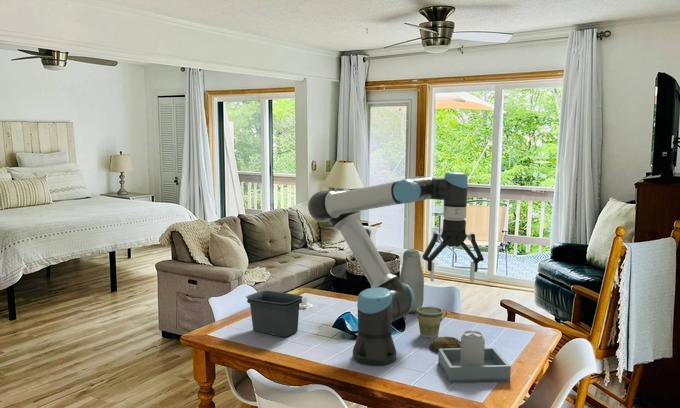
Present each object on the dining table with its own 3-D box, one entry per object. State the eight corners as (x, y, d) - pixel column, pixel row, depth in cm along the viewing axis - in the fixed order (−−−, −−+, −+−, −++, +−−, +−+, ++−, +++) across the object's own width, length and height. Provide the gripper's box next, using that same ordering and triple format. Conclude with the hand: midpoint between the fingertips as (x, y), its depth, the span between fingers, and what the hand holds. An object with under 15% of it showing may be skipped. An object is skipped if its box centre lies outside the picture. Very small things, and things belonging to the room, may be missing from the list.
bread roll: (424, 348, 201) (424, 335, 200) (448, 341, 208) (448, 328, 208) (451, 359, 191) (451, 345, 190) (474, 351, 198) (475, 338, 197)
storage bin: (243, 331, 219) (242, 296, 217) (267, 321, 232) (266, 288, 231) (286, 341, 208) (285, 304, 206) (309, 329, 221) (309, 294, 220)
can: (460, 372, 176) (461, 336, 175) (459, 363, 183) (460, 328, 182) (484, 374, 175) (485, 337, 173) (483, 365, 182) (484, 329, 181)
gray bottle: (409, 306, 252) (410, 246, 249) (427, 311, 244) (428, 249, 241) (395, 311, 245) (395, 249, 242) (413, 316, 238) (413, 252, 235)
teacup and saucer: (304, 310, 248) (304, 301, 248) (290, 308, 252) (290, 299, 252) (316, 306, 255) (316, 297, 255) (302, 303, 260) (302, 294, 259)
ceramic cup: (425, 341, 208) (425, 315, 206) (411, 333, 217) (411, 308, 216) (454, 336, 213) (454, 311, 212) (439, 328, 222) (439, 304, 221)
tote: (449, 383, 171) (449, 367, 170) (438, 362, 187) (438, 348, 186) (510, 381, 172) (510, 366, 171) (493, 361, 188) (494, 347, 187)
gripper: (418, 219, 181) (416, 283, 183) (495, 221, 181) (491, 284, 183) (415, 216, 188) (413, 277, 191) (488, 217, 188) (485, 278, 191)
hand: (451, 280), depth 187 cm, fingers open, 13 cm apart
